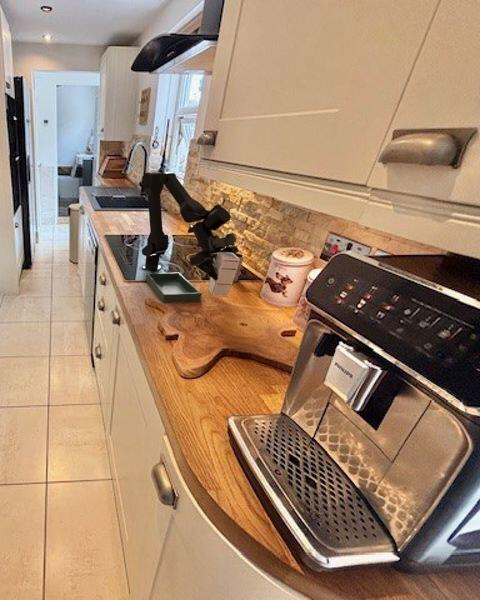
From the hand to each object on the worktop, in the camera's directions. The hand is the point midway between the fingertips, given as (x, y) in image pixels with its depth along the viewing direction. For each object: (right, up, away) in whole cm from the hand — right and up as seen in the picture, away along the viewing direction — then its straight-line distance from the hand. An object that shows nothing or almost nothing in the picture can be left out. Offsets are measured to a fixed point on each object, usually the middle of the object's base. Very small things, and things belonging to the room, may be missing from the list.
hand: (224, 277), depth 111 cm
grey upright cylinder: (+13, +1, +22) cm, 25 cm away
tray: (-15, -4, +11) cm, 19 cm away
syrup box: (-1, -5, +4) cm, 7 cm away
